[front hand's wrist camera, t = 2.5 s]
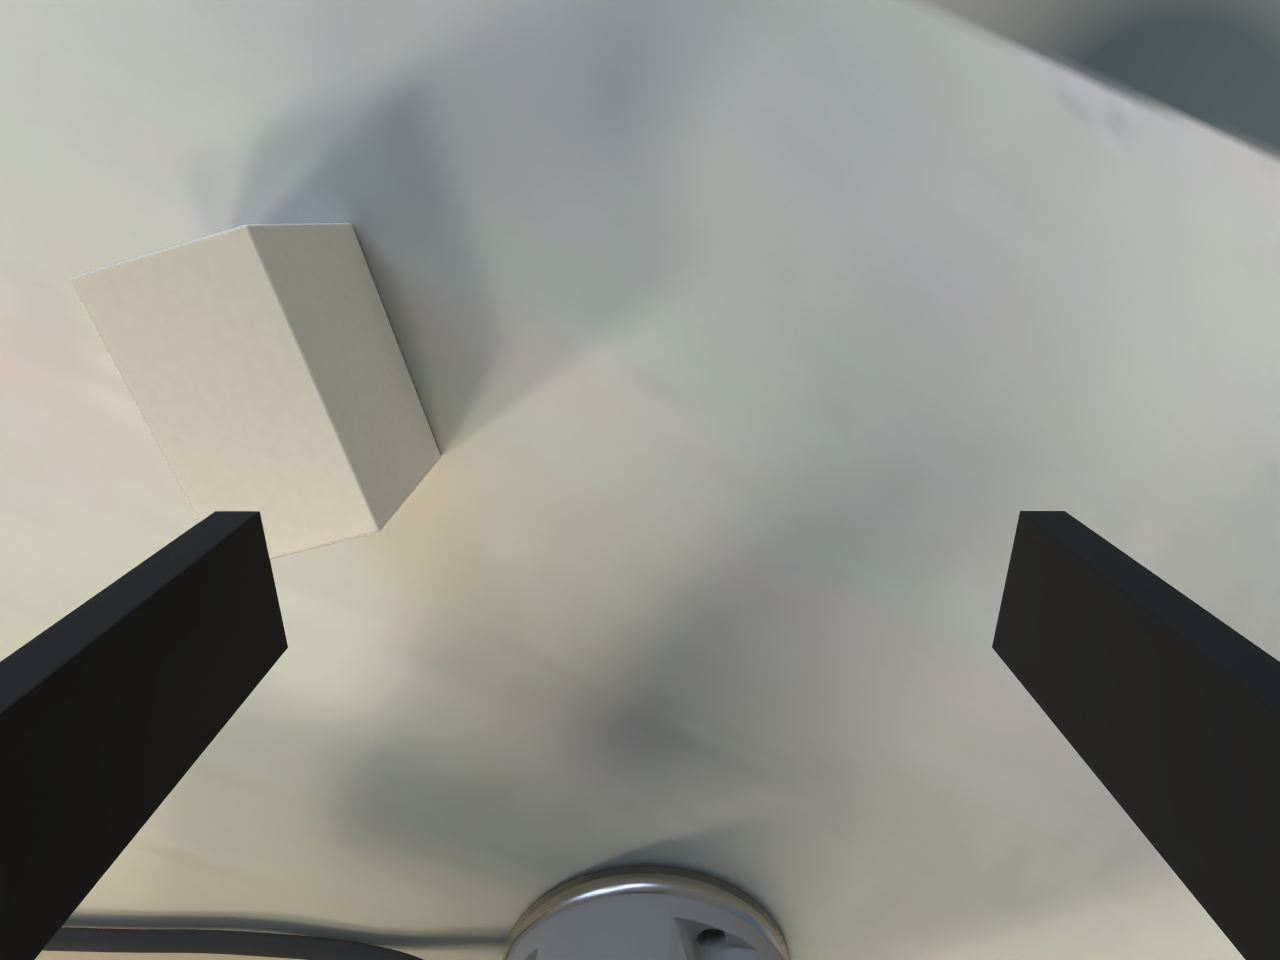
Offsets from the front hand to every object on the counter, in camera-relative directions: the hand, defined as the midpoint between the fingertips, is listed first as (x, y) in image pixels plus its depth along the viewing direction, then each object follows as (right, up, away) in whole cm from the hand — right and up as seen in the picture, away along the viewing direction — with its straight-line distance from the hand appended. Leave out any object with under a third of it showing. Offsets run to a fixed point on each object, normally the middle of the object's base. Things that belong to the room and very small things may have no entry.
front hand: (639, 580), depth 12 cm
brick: (-12, +6, +14) cm, 19 cm away
